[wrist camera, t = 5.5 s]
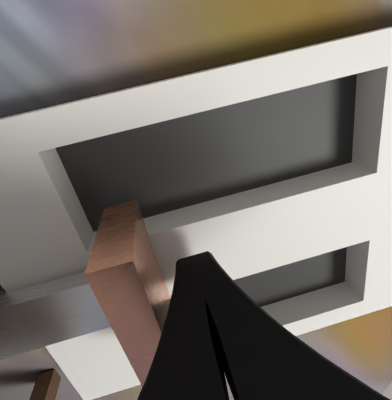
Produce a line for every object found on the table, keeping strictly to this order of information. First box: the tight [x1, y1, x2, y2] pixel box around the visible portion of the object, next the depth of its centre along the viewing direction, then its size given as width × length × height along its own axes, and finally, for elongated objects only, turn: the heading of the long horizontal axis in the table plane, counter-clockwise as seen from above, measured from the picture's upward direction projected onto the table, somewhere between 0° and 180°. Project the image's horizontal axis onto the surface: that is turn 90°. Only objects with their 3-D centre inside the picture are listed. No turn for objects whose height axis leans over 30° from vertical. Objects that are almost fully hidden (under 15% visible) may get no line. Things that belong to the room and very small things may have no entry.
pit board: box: [0, 26, 392, 400], centre depth 11 cm, size 12×16×2 cm
